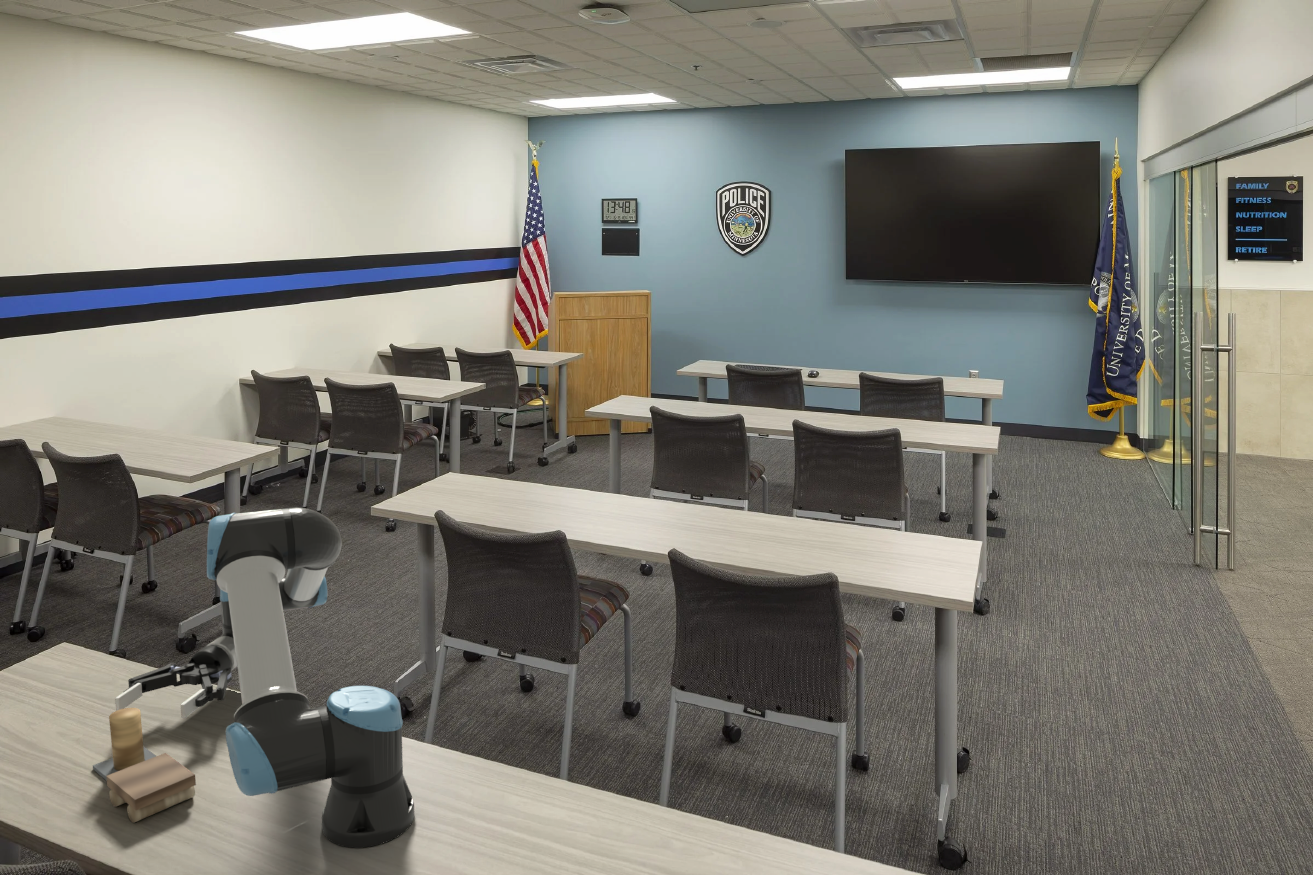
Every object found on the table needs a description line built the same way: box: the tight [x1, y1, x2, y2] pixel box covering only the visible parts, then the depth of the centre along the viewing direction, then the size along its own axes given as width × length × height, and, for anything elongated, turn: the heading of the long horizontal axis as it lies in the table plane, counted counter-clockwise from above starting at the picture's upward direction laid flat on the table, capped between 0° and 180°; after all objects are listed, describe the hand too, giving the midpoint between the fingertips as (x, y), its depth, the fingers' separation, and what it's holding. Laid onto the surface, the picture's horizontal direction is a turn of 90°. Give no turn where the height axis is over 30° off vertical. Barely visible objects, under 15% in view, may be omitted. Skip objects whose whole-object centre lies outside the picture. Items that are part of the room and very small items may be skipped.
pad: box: [92, 745, 157, 782], centre depth 172 cm, size 9×9×1 cm
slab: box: [106, 752, 197, 824], centre depth 161 cm, size 11×10×5 cm
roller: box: [108, 707, 145, 771], centre depth 171 cm, size 5×5×10 cm
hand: (149, 707), depth 177 cm, fingers open, 13 cm apart
